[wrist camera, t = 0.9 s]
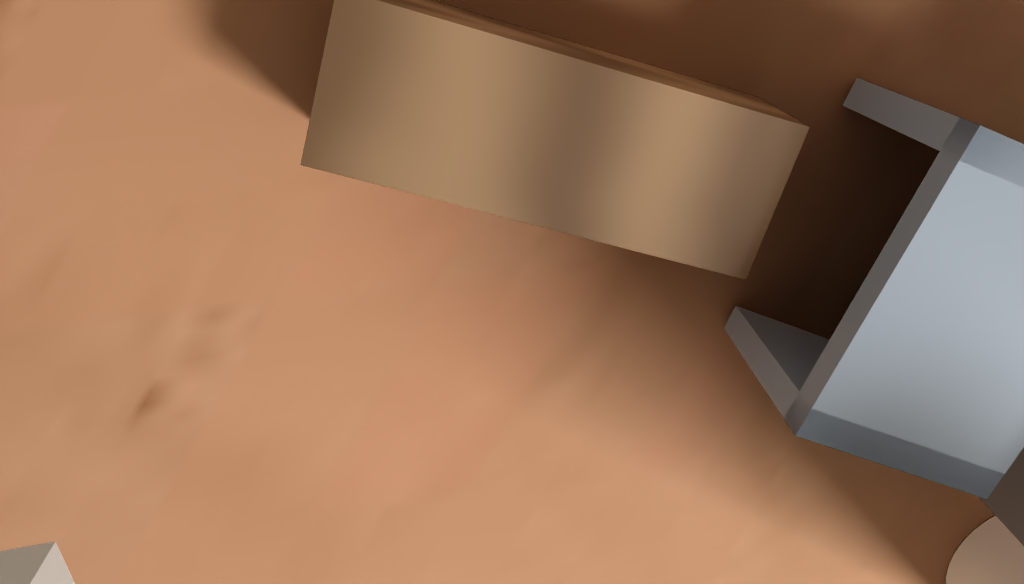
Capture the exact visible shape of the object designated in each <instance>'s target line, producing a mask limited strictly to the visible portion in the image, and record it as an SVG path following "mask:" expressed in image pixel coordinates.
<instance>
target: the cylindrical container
mask: <svg viewBox="0 0 1024 584" xmlns="http://www.w3.org/2000/svg"><path fill="white" fill-rule="evenodd" d="M946 584H1024V546H1023V545H1022V544H1021V543H1020V542H1019V540H1018V539H1017V538H1016V537H1015V536H1014V535H1013V534H1012V533H1011V532H1010V531H1009V530H1008V528H1007V527H1006V526H1005V525H1004V524H1003V523H1002V522H1001V521H1000V520H999V519H998V518H997V516H994V517H992V518H990V519H988V520H987V521H985V522H984V523H983V524H981V525H980V526H979V527H977V528H976V529H975V530H974V531H973V532H972V533H971V534H970V535H969V536H968V537H967V538H966V539H965V540H964V541H963V542H962V543H961V545H960V546H959V548H958V549H957V550H956V552H955V553H954V555H953V557H952V559H951V562H950V564H949V567H948V571H947V574H946Z"/></svg>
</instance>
